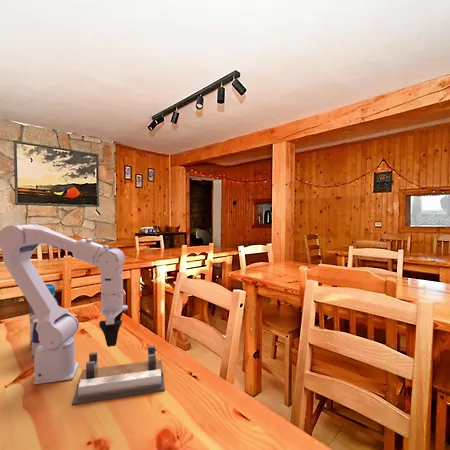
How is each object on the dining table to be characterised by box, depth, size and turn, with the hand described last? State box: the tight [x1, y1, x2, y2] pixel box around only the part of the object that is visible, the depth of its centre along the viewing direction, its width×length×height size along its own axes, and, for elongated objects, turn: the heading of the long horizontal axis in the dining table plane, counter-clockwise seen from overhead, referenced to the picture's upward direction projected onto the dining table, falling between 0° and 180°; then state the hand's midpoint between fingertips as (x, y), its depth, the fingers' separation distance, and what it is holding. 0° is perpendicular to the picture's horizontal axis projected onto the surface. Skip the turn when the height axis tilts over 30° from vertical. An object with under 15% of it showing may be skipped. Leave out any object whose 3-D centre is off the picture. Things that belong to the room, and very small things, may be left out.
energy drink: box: [31, 317, 41, 360], centre depth 90 cm, size 5×5×12 cm
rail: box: [78, 369, 161, 399], centre depth 74 cm, size 20×3×3 cm, turn 106°
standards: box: [76, 345, 164, 389], centre depth 81 cm, size 22×7×6 cm, turn 106°
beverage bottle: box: [28, 283, 59, 348], centre depth 97 cm, size 8×8×20 cm
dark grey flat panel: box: [71, 375, 166, 406], centre depth 74 cm, size 22×6×1 cm, turn 106°
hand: (113, 339), depth 80 cm, fingers open, 7 cm apart
